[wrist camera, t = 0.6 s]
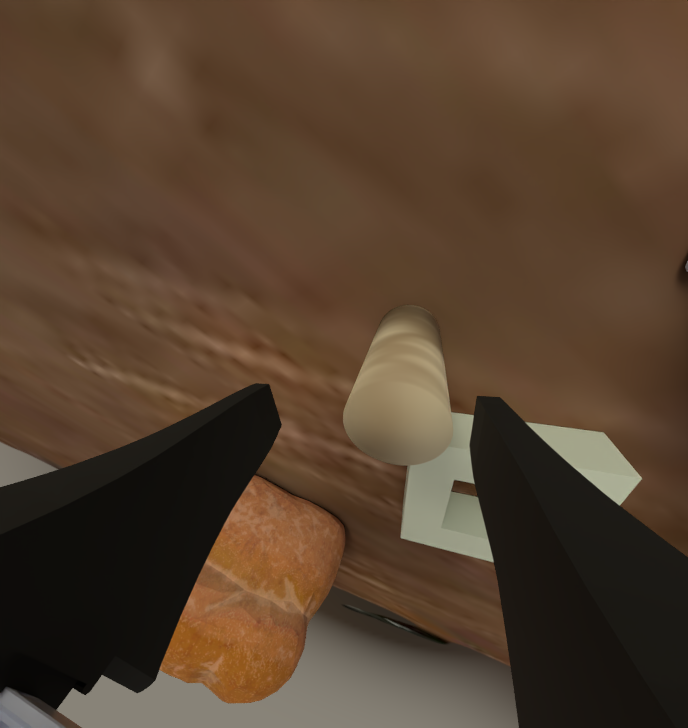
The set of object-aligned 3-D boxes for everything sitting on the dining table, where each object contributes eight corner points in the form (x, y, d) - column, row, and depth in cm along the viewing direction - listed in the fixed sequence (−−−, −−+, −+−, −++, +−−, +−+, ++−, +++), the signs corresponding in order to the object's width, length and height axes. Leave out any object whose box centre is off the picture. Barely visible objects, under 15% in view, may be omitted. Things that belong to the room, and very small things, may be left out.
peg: (444, 306, 15) (463, 389, 8) (435, 363, 17) (443, 474, 10) (378, 303, 16) (340, 376, 9) (377, 358, 18) (344, 455, 11)
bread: (325, 558, 37) (272, 737, 24) (166, 476, 37) (34, 608, 25) (361, 518, 29) (313, 748, 17) (163, 417, 30) (-28, 563, 17)
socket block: (603, 432, 17) (641, 478, 14) (541, 532, 23) (558, 579, 20) (414, 407, 20) (412, 440, 17) (403, 501, 25) (400, 537, 23)
